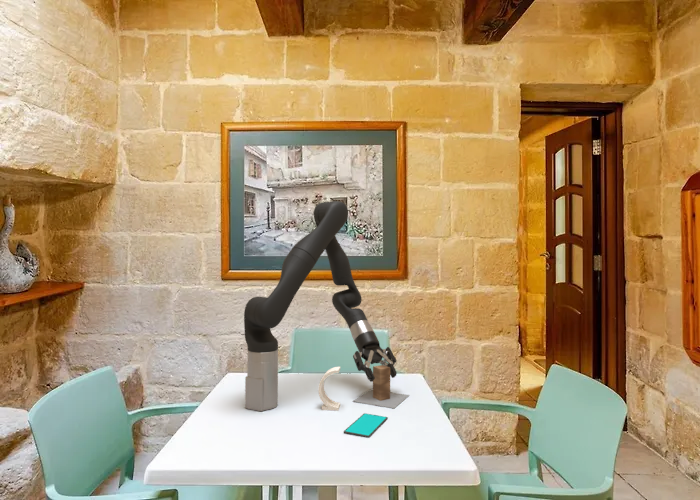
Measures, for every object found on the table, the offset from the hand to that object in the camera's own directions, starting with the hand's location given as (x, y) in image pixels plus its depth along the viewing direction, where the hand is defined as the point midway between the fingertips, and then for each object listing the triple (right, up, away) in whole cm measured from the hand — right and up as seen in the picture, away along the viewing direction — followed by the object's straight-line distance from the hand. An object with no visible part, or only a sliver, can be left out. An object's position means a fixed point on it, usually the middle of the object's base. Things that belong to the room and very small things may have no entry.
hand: (383, 378), depth 148 cm
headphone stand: (-17, -7, -8) cm, 20 cm away
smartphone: (-6, -7, -22) cm, 24 cm away
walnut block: (-1, -7, +1) cm, 7 cm away
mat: (-1, -7, +1) cm, 7 cm away
